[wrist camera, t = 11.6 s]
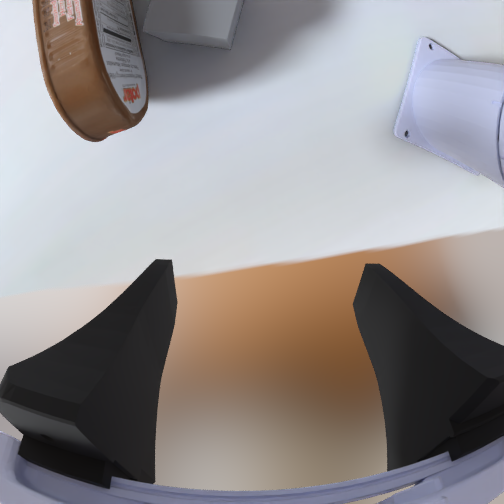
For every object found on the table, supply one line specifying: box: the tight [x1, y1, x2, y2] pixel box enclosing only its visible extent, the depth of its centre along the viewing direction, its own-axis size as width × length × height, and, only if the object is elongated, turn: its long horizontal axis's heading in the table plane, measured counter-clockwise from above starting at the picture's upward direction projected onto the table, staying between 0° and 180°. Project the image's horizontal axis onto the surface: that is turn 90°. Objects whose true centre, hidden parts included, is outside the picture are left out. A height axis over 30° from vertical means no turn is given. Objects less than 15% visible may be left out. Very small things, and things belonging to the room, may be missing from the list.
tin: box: [32, 0, 148, 142], centre depth 10 cm, size 15×3×8 cm, turn 11°
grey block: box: [142, 0, 244, 50], centre depth 11 cm, size 4×4×5 cm
